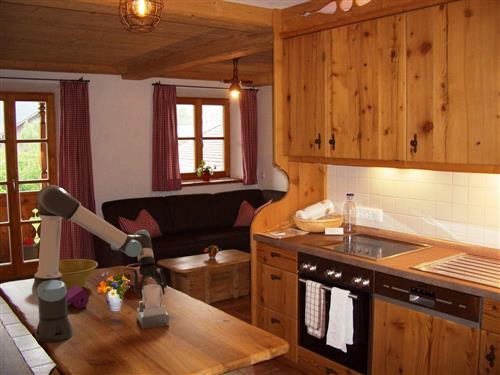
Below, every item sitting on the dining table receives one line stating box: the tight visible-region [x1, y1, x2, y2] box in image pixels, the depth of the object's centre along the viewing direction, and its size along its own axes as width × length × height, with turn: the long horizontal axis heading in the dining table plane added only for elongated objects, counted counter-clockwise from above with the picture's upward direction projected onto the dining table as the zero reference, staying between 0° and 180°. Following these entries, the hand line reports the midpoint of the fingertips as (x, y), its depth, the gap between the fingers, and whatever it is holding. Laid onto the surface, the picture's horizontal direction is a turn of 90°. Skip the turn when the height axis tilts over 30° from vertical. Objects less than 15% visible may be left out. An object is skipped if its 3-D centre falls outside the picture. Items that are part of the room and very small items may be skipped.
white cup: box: [143, 283, 161, 309], centre depth 248 cm, size 8×8×10 cm
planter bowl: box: [37, 258, 99, 291], centre depth 302 cm, size 32×32×13 cm
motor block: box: [136, 298, 170, 330], centre depth 249 cm, size 14×12×8 cm
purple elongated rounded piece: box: [66, 285, 90, 309], centre depth 271 cm, size 9×8×18 cm
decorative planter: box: [123, 263, 150, 292], centre depth 300 cm, size 20×12×14 cm, turn 54°
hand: (153, 302), depth 245 cm, fingers closed on white cup, 8 cm apart
